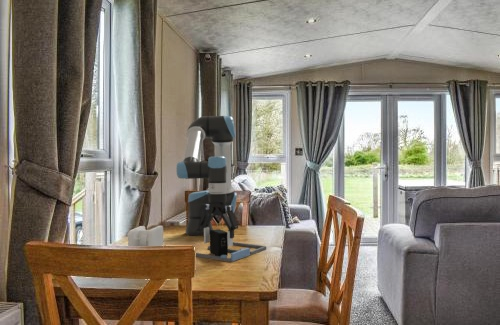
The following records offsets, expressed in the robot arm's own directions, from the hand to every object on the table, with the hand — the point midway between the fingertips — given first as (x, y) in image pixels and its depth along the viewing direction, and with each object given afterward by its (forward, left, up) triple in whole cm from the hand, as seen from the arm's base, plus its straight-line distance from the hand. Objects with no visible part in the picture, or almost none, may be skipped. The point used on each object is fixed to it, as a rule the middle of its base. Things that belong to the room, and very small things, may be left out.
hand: (218, 244), depth 163 cm
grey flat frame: (-6, 0, -4) cm, 8 cm away
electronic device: (0, 0, -5) cm, 5 cm away
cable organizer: (+16, -27, -5) cm, 31 cm away
